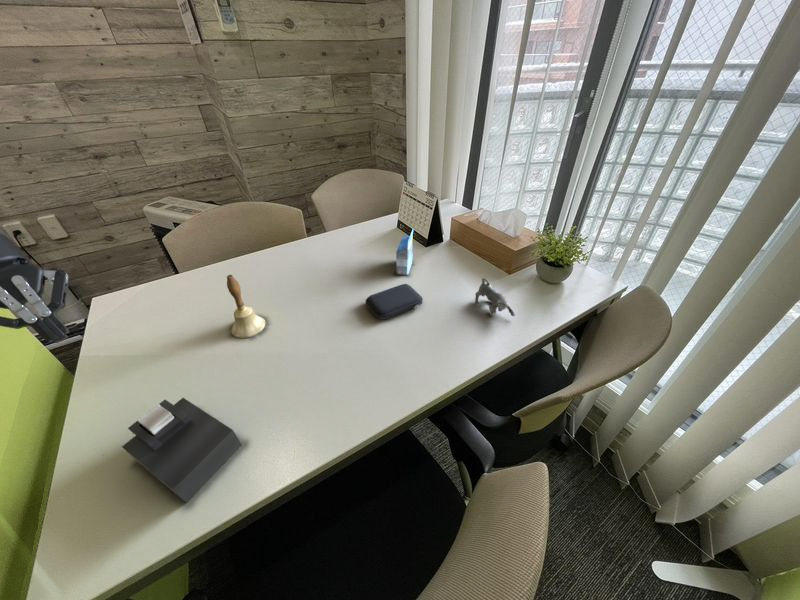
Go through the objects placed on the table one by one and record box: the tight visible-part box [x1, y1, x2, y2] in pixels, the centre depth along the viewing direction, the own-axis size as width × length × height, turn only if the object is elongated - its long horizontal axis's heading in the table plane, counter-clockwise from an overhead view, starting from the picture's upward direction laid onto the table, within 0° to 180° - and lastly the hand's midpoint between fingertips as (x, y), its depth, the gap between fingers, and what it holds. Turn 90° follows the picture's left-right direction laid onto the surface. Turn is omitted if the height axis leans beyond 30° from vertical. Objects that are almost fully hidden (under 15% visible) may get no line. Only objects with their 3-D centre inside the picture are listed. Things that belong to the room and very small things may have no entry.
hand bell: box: [226, 274, 266, 339], centre depth 80 cm, size 8×8×16 cm
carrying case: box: [365, 283, 424, 320], centre depth 90 cm, size 11×3×15 cm
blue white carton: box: [395, 229, 414, 276], centre depth 103 cm, size 9×4×12 cm, turn 169°
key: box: [137, 404, 175, 435], centre depth 56 cm, size 4×4×2 cm
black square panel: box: [121, 397, 243, 504], centre depth 57 cm, size 15×11×7 cm
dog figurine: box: [474, 277, 516, 317], centre depth 88 cm, size 12×6×7 cm, turn 27°
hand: (62, 339), depth 51 cm, fingers closed
